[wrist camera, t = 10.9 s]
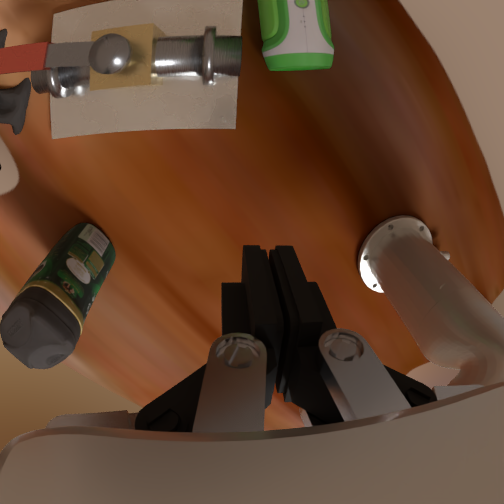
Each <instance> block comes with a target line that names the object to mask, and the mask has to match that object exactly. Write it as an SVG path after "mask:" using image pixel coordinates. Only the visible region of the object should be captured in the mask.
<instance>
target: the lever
mask: <svg viewBox="0 0 504 504" xmlns="http://www.w3.org/2000/svg"><path fill="white" fill-rule="evenodd" d="M132 55H133V47H132V44H131V43H130V41H129V40H128V39H127V38H125V37H123V36H121V35H119V34H115V33H110V34H106V35H103V36H101V37H100V38H98V39H97V40H96V41H91V42H69V43H51V42H41V43H33V44H25V45H19V46H12V47H6V48H1V49H0V74H7V73H16V72H26V71H38V70H50V68H51V67H79V66H91V67H92V69H93V70H94V71H96V72H98V73H100V74H116V73H118V72H120V71H122V70H123V69H125V68H126V67H127V66H128V64H129V63H130V61H131V59H132Z"/></svg>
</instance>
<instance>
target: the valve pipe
mask: <svg viewBox="0 0 504 504" xmlns="http://www.w3.org/2000/svg"><path fill="white" fill-rule="evenodd" d="M242 6H243V0H113V1H107V2H102V3H97V4H92V5H87V6H83V7H79V8H75V9H71V10H67V11H63V12H59V13H56V14H54V17H53V27H52V39H51V43H69V42H91V41H96V40H97V39H98V38H100V37H101V36H103V35H106V34H110V33H115V34H119V35H121V36H123V37H125V38H127V39H128V40H129V41H130V43H131V44H132V47H133V55H132V59H131V61H130V63H129V64H128V66H127V67H126V68H125V69H123V70H122V71H120V72H118V73H116V74H100V73H98V72H96V71H94V70H93V69H92V67H91V66H79V67H51V68H50V70H38V71H31V82H32V86H33V88H34V90H35V91H36V92H37V93H39V94H42V93H46V92H50V111H51V130H52V139H57V138H64V137H72V136H80V135H89V134H99V133H110V132H122V131H137V130H156V129H198V128H210V129H236V108H237V89H238V77H239V76H240V68H241V56H242V36H241V21H242Z"/></svg>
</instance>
